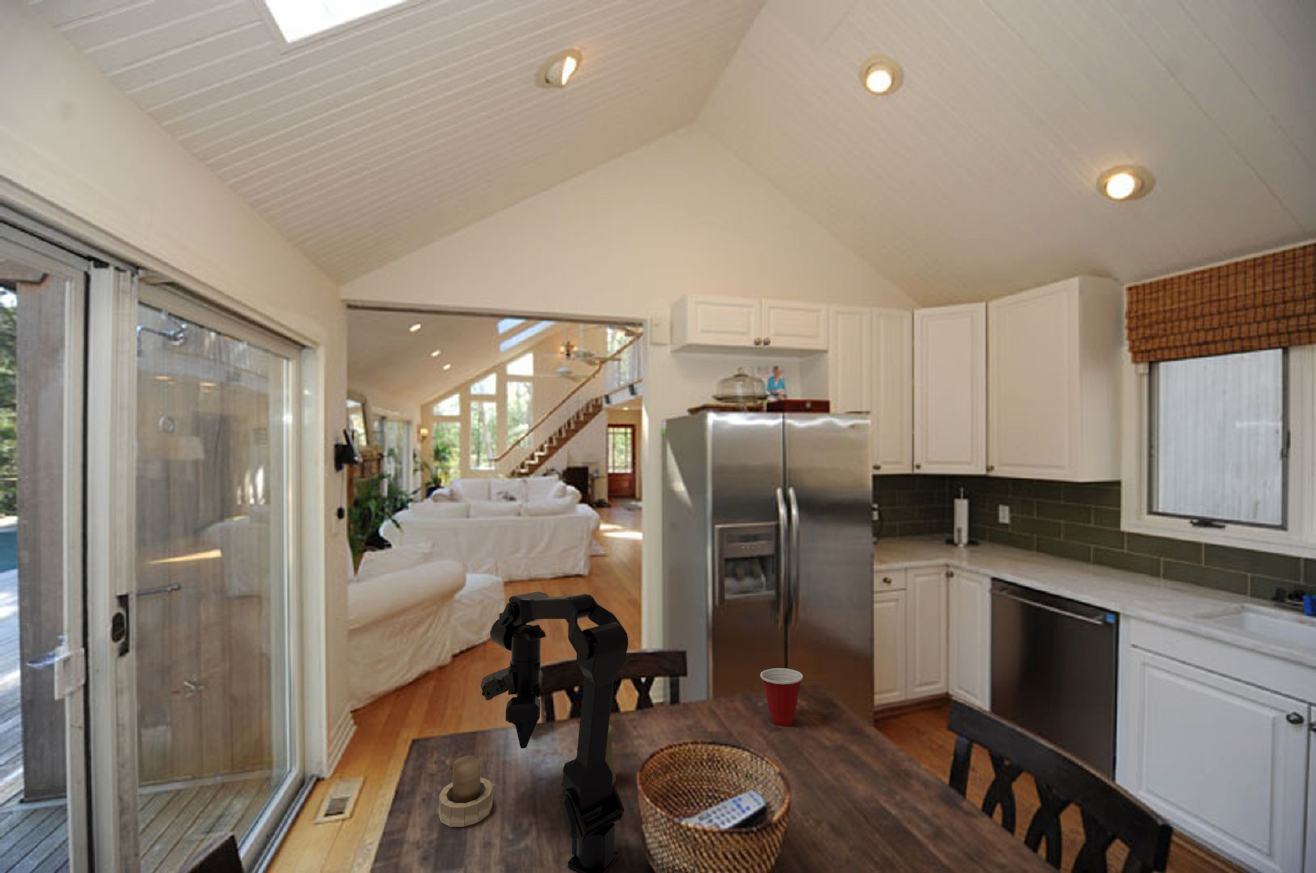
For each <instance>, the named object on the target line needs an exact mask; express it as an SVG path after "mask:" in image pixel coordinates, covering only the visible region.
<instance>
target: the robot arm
mask: <svg viewBox="0 0 1316 873" xmlns="http://www.w3.org/2000/svg"><path fill="white" fill-rule="evenodd" d="M583 618H588V619H589V621H591V622H593V623H594V624H595V625H597V626H593V627H588V628H585V629H583V630H582V628H581V627H580V625H579V624H578V620H579V619H583ZM543 620H565V621H566V623H567V626H568V627H567V639H568V641H569V643H570V646H572V648H573V650H574V651H575V652H576V664H577V666H578V667H579V669H580V671H581V672H582V675H583V677H584V678H583V689H582V695H581V696H582V698H581V708H580V720H579V728H578V739H577V740H578V741H577V748H576V749H577V750H576V756H575V758H574V759H572V760H570V761H567V762H565V763H564V765H563V768H562V780H561V781H562V782H561V784H560V788H562V789H561V790H562V791H561V797H560V798H561V800H560V801H561V804H562V805H561V806H562V812H563V818H564V824H565V829H566V830H568V833H569V834H568V837H569V838H571V855H572V857H571V858H570V859H569V860H568V861H567V867H568V868H570V869H572V870H574V871H577V872H579V873H607V872H608V870H610V868H611V867H612V866H613V864H614V863H615V862H616V861H617V860H618V858H620V851H618V850H616V849H615V844H616V843H615V840H616V839H615V837H616V836H615V831H616V829H615V828H616V826H615V823H616V822H618V821H622V819H623V818H624V814H625V808H624V805H623V802H622V800H621V798H620V795H619V793H618V790H617V788H616V785H615V782H614V783H613V772H612V770H611V769H610V767H609V765H608V763H607V761H606V750H607V740H608V731H609V725H610V722H611V721H610V718H611V709H612V700H613V699H612V698H613V689H614V682H615V679H616V676H617V675H618V673H619V671H621V669H622V667H623V665H624V664H625V661H626V656H627V652H628V648H629V635H628V633H627V631H626V629H625V628H624V626H623V625H622V624H621V623H620V621H619V619H618V618H617V617H616V615H615V614H614V613H612V612H611V611H609V610H607V609H606V608H605V607H603V606H601V605H600V604H598V602H597V601H596V600H595V598H594V597H593V596H592V595H591V594H589V593H581V594H577V595H561V596H549V595H548V593H545V592H543V591H532V592H527V593H522V594H516V595H512V596H510V597H509V598H508V602H507V603H506V605H505V606H504V610H503V612H499V614H498V618H497V619H496V620H495V622H493V624H492V626H491V629H490V631H489V636H490V637H489V638H490V639H491V641H492V642H493V643H495V644H496V645H498V646H500V647H501V648H504V649H505V650H507V651H509V652H510V651H511V656H510V657H511V658H510V659H511V660H510V663H509V666H508V667H506V668H503V669H499V670H497V671H495V672H492V673H490V674H488V675H486V676H484V677H483V678H482V680H481V683H480V688H481V690H482V691H481V696H483V697H484V699H485V701H491V700H493V699H494V698H496V697H497V696H499V695H502V694H504V693H507V694H508V696H512V695H515V696H512V697H511V698H510V699H509V700H508V701H507V703H506V707H505V708H506V709H505V722H507V723H509V724H512V725H514V726H515V730H516V734H517V739H518V742H519V743H518V744H519V747H520V749H526V748H527V747H528V744H529V742H530V740H531V738H532V736H533V733H534V730H535V728H536V726H537V723H538V722H539V720H540V718H541V698H539V697H540V694H541V691H542V684H543V671H542V670H541V666H542V664H541V663H542V662H541V660H542V656H541V655H542V654H541V652H542V651H541V646H542V642H541V641H542V639H544V638H546V637H547V634H546V632H545V631H544V629H542V627H541V626H540V624H534V625H531V624H529V623H534V622H538V621H543Z"/></svg>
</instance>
